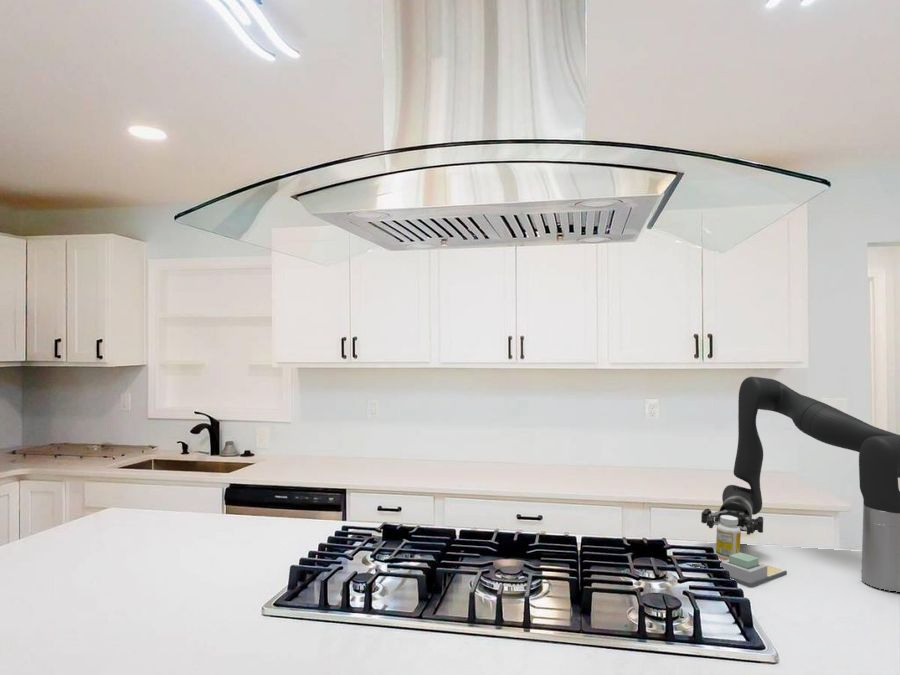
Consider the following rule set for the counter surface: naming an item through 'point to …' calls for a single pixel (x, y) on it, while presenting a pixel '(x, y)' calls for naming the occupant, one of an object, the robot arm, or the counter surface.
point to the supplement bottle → (728, 537)
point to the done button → (744, 560)
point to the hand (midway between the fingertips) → (729, 527)
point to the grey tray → (750, 573)
